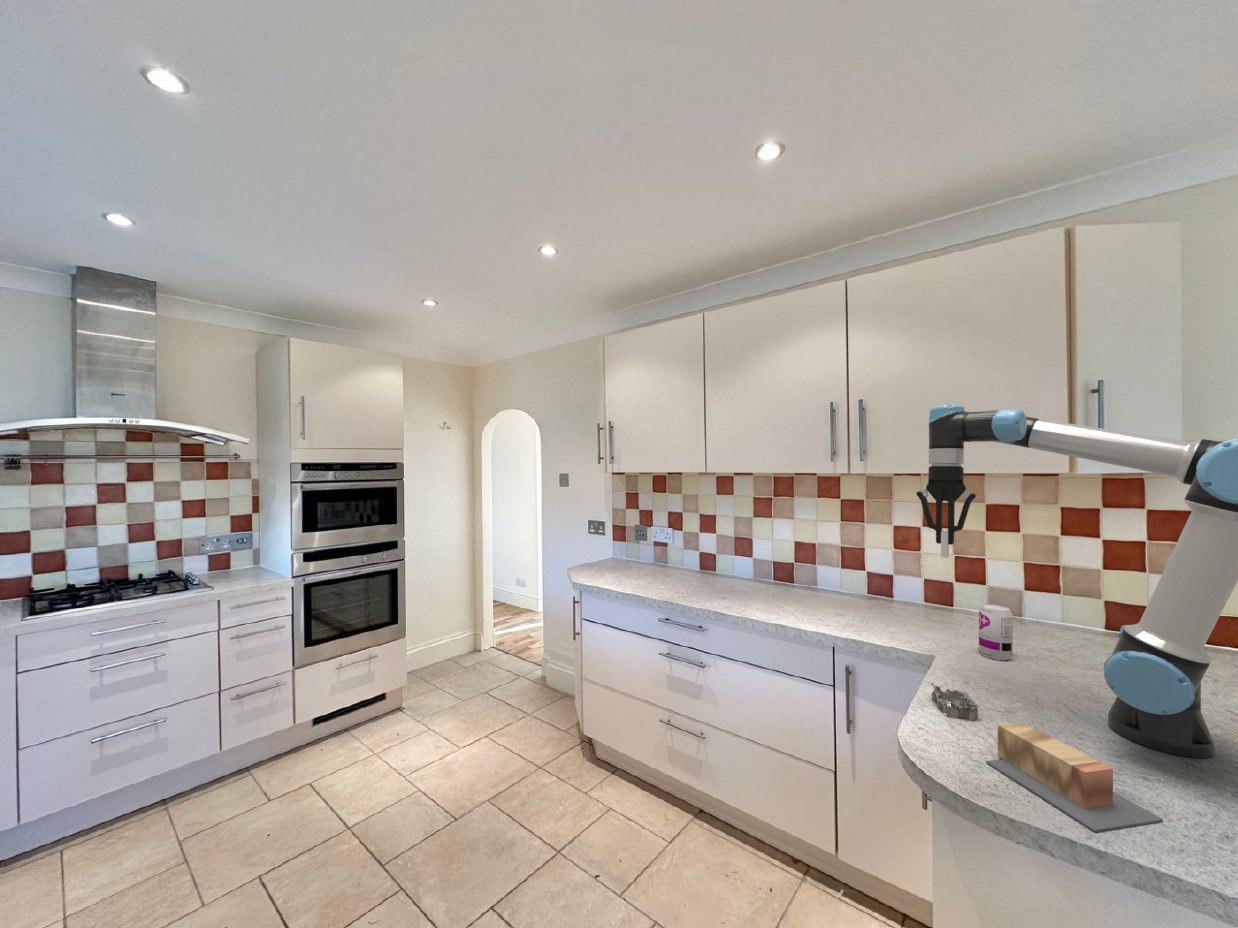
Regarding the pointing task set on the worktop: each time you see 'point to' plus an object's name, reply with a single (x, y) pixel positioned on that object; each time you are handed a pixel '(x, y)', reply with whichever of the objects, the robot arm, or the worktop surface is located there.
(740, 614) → the worktop surface
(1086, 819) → the mat
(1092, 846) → the worktop surface
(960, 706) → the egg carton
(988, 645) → the supplement can
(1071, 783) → the oak block
